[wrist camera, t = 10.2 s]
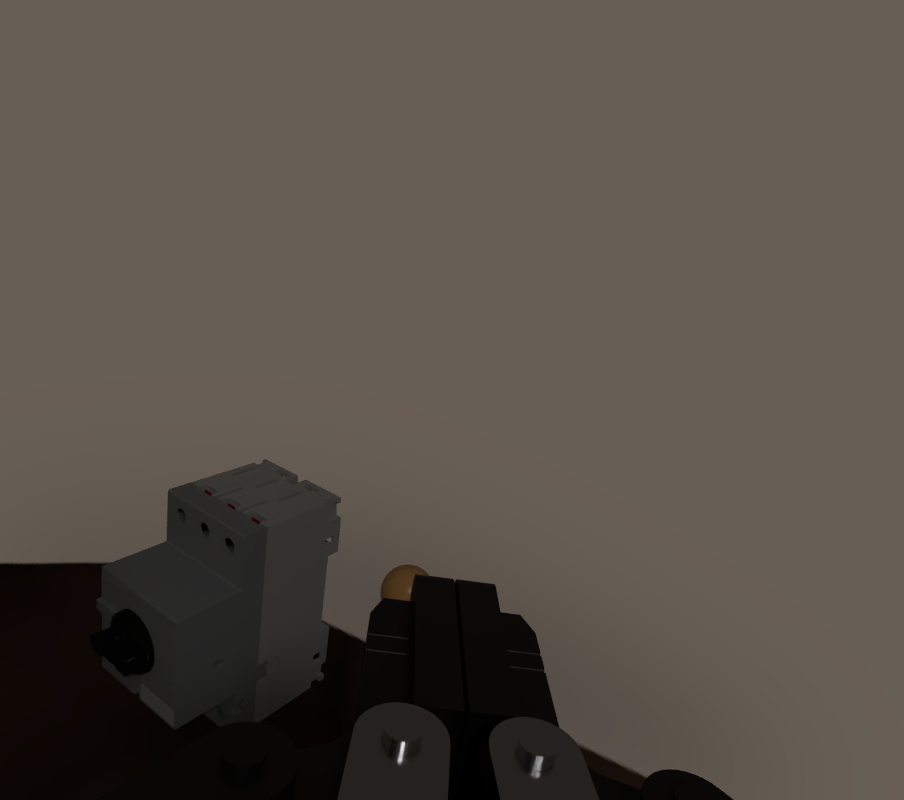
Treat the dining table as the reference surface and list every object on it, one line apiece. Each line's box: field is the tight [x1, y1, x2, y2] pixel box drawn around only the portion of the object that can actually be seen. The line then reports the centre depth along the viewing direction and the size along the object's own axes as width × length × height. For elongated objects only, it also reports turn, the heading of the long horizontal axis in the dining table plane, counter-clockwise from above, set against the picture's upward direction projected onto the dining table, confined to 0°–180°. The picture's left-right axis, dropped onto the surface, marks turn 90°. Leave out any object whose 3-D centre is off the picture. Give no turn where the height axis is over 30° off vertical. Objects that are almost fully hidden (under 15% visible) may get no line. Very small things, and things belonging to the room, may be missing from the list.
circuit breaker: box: [90, 459, 341, 730], centre depth 47 cm, size 8×14×15 cm, turn 144°
